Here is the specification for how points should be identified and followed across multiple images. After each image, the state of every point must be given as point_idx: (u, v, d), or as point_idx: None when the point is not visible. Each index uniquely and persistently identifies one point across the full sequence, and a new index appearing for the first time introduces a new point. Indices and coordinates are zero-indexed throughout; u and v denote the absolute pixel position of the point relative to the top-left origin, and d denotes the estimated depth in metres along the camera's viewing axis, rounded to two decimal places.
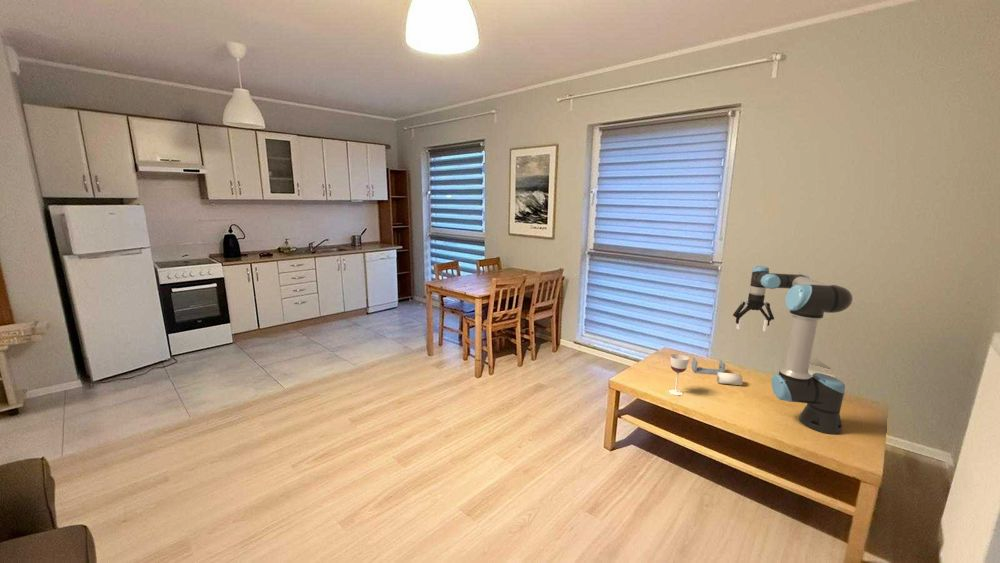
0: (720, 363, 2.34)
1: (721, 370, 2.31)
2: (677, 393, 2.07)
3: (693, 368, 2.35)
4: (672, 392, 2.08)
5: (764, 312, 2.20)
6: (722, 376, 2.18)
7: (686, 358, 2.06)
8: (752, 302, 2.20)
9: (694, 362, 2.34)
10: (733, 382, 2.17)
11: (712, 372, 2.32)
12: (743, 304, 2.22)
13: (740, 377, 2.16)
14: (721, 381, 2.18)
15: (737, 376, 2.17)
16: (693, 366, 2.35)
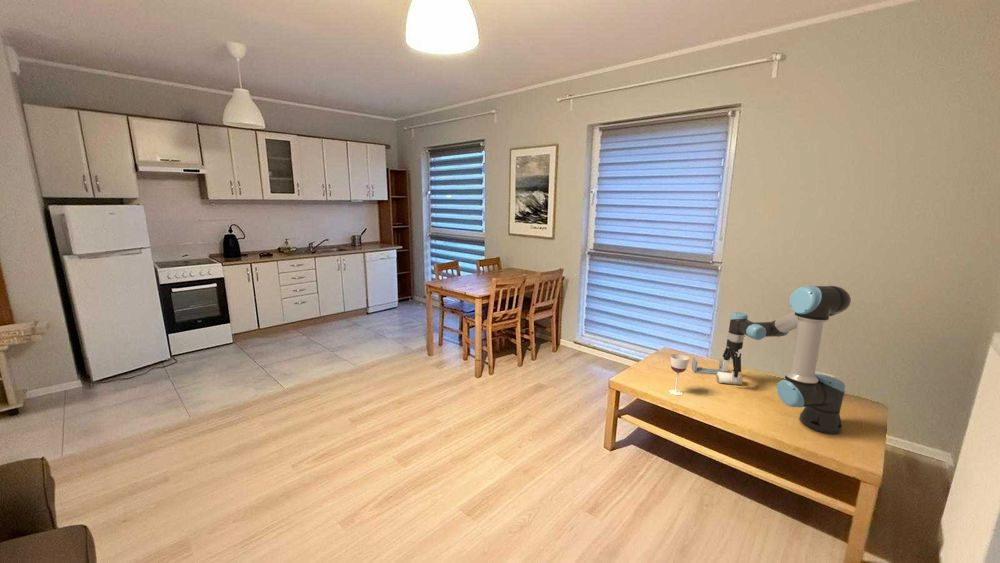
0: (720, 363, 2.34)
1: (721, 370, 2.31)
2: (677, 393, 2.07)
3: (693, 368, 2.35)
4: (672, 392, 2.08)
5: (733, 361, 2.13)
6: (721, 374, 2.19)
7: (686, 358, 2.06)
8: None
9: (694, 362, 2.34)
10: None
11: (712, 372, 2.32)
12: (726, 346, 2.22)
13: (739, 375, 2.17)
14: (721, 380, 2.18)
15: None
16: (693, 366, 2.35)
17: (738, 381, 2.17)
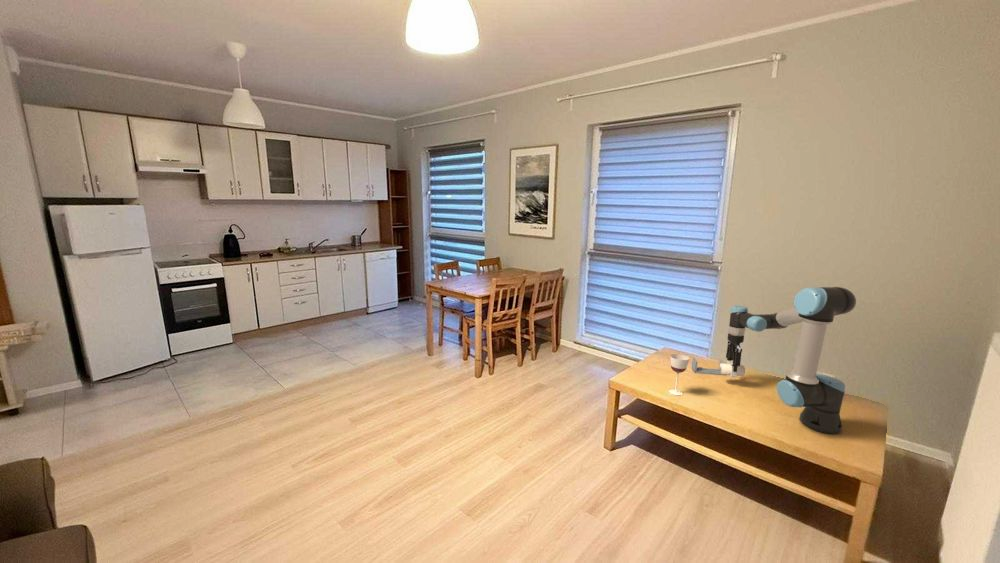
0: None
1: None
2: (677, 393, 2.07)
3: (693, 368, 2.35)
4: (672, 392, 2.08)
5: (733, 355, 2.13)
6: (724, 365, 2.17)
7: (686, 358, 2.06)
8: (731, 340, 2.17)
9: (694, 362, 2.34)
10: None
11: (712, 372, 2.32)
12: (728, 343, 2.21)
13: (742, 366, 2.15)
14: (724, 370, 2.16)
15: None
16: (693, 366, 2.35)
17: (741, 372, 2.14)
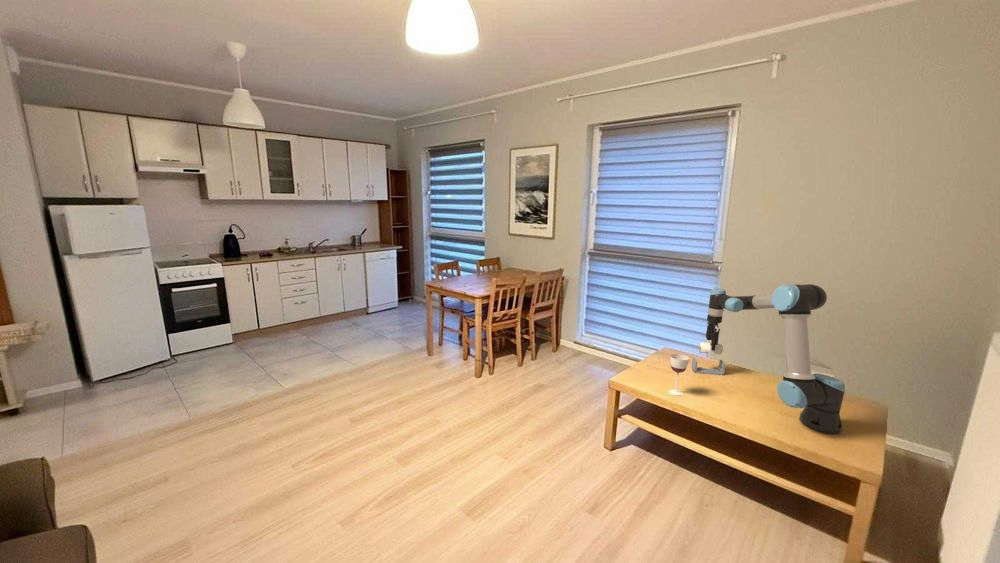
0: (720, 363, 2.34)
1: (721, 370, 2.31)
2: (677, 393, 2.07)
3: (693, 368, 2.35)
4: (672, 392, 2.08)
5: (711, 335, 2.27)
6: (703, 344, 2.31)
7: (686, 358, 2.06)
8: None
9: (694, 362, 2.34)
10: None
11: (712, 372, 2.32)
12: None
13: (720, 345, 2.29)
14: (703, 349, 2.30)
15: None
16: (693, 366, 2.35)
17: (719, 350, 2.28)
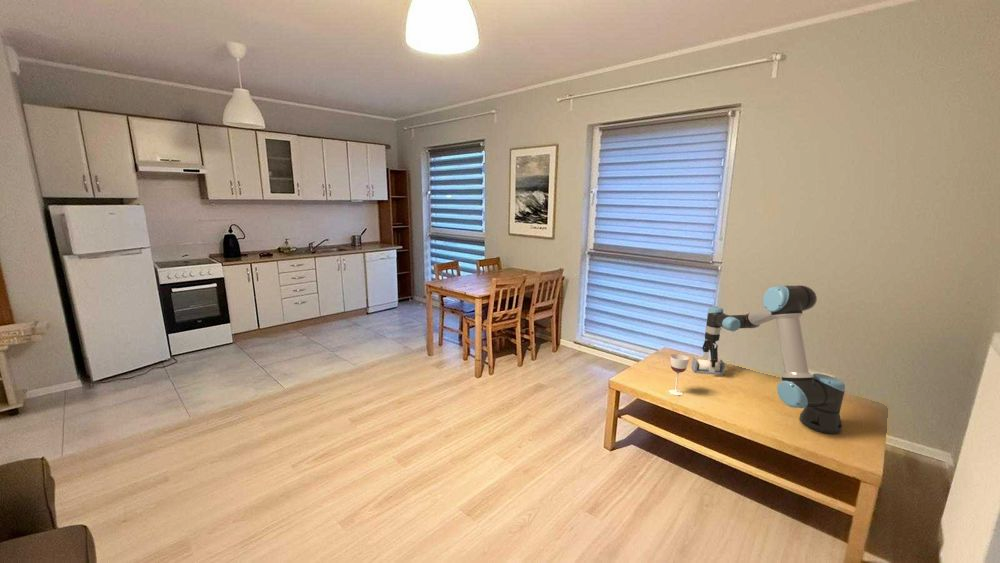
0: (720, 363, 2.34)
1: (721, 370, 2.31)
2: (677, 393, 2.07)
3: (693, 368, 2.35)
4: (672, 392, 2.08)
5: (710, 352, 2.27)
6: (701, 361, 2.33)
7: (686, 358, 2.06)
8: (708, 339, 2.33)
9: (694, 362, 2.34)
10: None
11: (712, 372, 2.32)
12: (705, 339, 2.37)
13: (717, 362, 2.31)
14: (700, 366, 2.32)
15: None
16: (693, 366, 2.35)
17: (716, 367, 2.30)
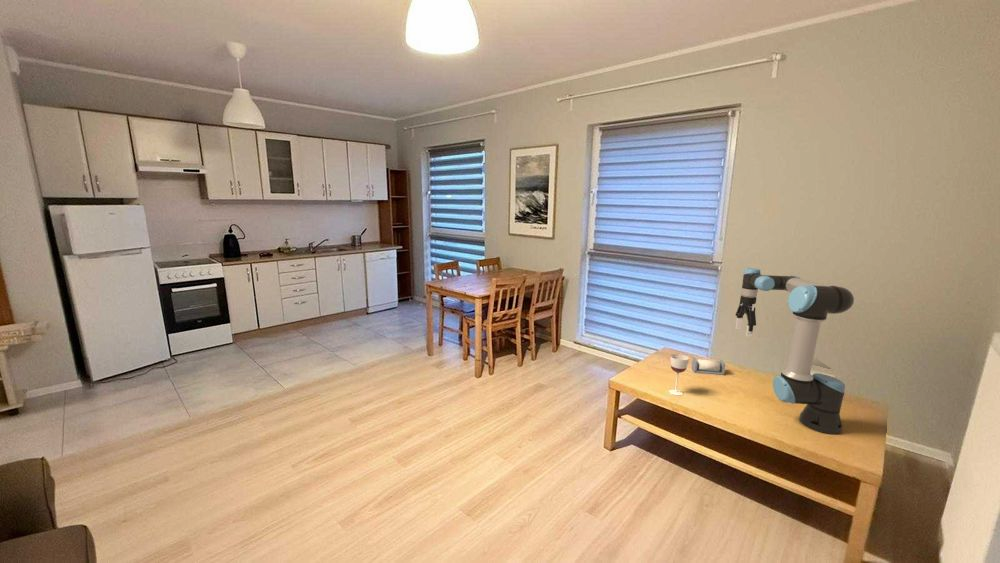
0: (720, 363, 2.34)
1: (721, 370, 2.31)
2: (677, 393, 2.07)
3: (693, 368, 2.35)
4: (672, 392, 2.08)
5: (747, 315, 2.16)
6: (701, 361, 2.33)
7: (686, 358, 2.06)
8: (743, 303, 2.22)
9: (694, 362, 2.34)
10: (711, 366, 2.31)
11: (712, 372, 2.32)
12: (739, 304, 2.26)
13: (717, 362, 2.31)
14: (700, 366, 2.32)
15: (715, 361, 2.32)
16: (693, 366, 2.35)
17: (716, 367, 2.30)
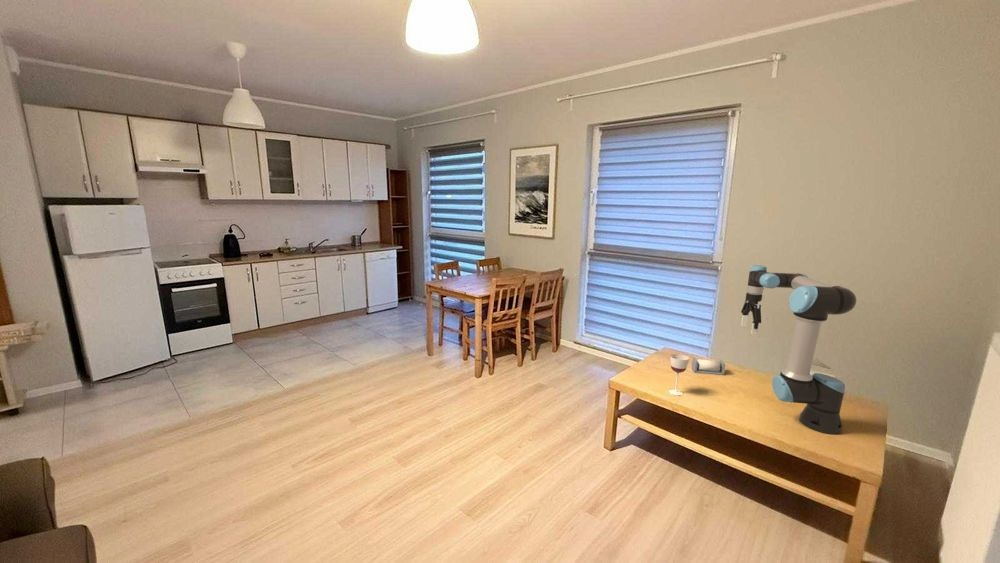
0: (720, 363, 2.34)
1: (721, 370, 2.31)
2: (677, 393, 2.07)
3: (693, 368, 2.35)
4: (672, 392, 2.08)
5: (752, 313, 2.15)
6: (701, 361, 2.33)
7: (686, 358, 2.06)
8: (749, 300, 2.21)
9: (694, 362, 2.34)
10: (711, 366, 2.31)
11: (712, 372, 2.32)
12: (745, 301, 2.25)
13: (717, 362, 2.31)
14: (700, 366, 2.32)
15: (715, 361, 2.32)
16: (693, 366, 2.35)
17: (716, 367, 2.30)
